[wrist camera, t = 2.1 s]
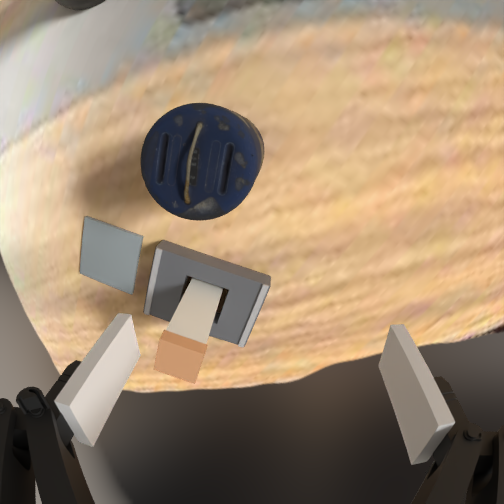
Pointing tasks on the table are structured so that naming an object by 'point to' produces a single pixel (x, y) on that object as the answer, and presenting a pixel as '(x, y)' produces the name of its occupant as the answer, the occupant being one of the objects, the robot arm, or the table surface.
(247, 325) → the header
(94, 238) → the pad
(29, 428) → the robot arm
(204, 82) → the table surface
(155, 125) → the canister
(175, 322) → the plug
